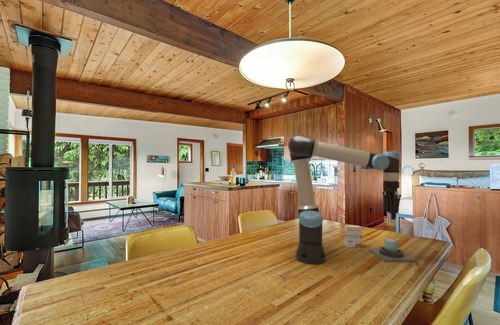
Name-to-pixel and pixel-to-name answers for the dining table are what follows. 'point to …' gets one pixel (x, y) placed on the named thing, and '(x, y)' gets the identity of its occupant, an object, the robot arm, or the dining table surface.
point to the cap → (391, 245)
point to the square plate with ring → (392, 255)
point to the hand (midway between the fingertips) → (391, 224)
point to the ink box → (353, 236)
